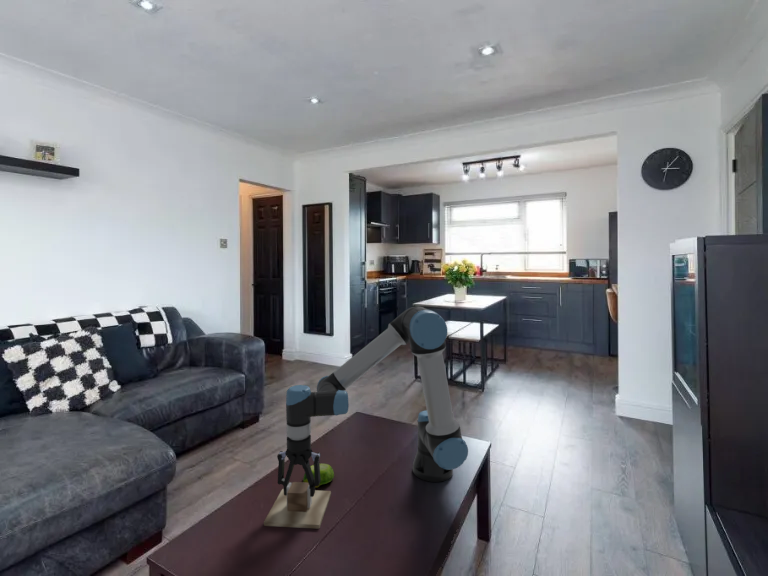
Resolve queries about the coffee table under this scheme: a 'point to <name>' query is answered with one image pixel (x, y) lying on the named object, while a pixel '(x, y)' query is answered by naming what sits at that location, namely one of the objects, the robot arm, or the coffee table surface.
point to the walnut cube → (297, 497)
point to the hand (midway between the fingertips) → (299, 504)
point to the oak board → (298, 519)
